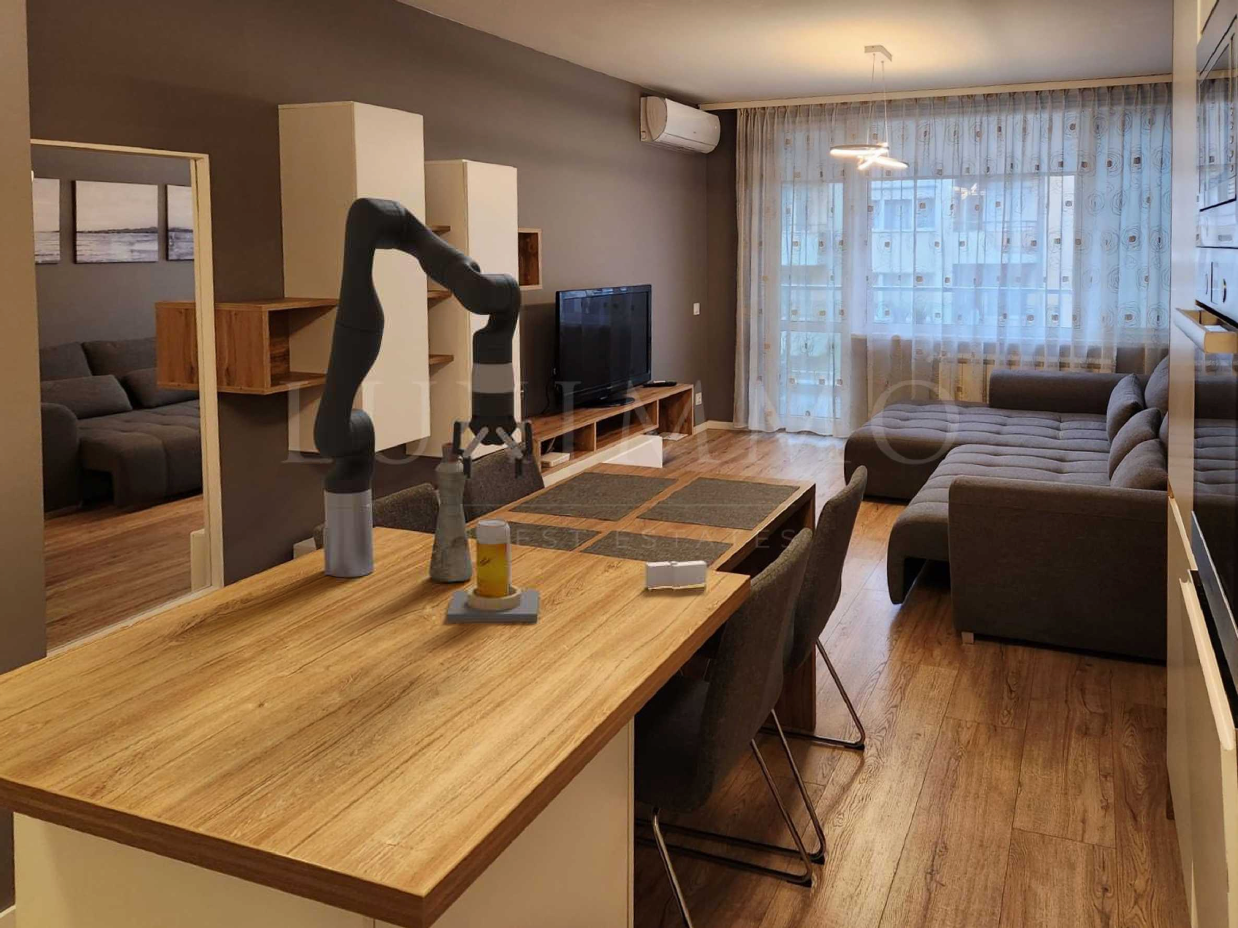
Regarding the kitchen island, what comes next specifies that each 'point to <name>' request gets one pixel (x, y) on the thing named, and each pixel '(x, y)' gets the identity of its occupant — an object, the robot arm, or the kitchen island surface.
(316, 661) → the kitchen island surface
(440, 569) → the bottle
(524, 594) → the socket board
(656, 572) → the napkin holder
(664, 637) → the kitchen island surface
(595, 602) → the kitchen island surface
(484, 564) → the beer can
